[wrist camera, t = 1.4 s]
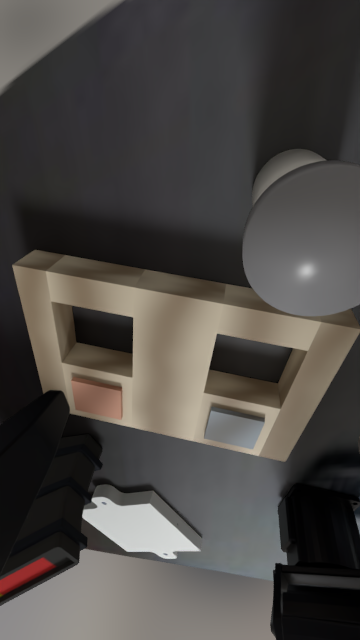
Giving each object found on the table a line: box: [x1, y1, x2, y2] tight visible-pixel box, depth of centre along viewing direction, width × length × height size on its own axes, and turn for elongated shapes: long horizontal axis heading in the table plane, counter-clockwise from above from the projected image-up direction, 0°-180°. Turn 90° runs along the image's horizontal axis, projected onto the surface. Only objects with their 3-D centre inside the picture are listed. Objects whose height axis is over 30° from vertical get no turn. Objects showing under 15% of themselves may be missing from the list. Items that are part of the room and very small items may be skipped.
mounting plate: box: [82, 484, 202, 559], centre depth 43 cm, size 18×13×2 cm
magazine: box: [0, 434, 103, 606], centre depth 31 cm, size 4×13×15 cm, turn 115°
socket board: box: [12, 250, 360, 462], centre depth 23 cm, size 21×14×3 cm, turn 85°
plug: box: [242, 149, 360, 316], centre depth 13 cm, size 5×5×8 cm
